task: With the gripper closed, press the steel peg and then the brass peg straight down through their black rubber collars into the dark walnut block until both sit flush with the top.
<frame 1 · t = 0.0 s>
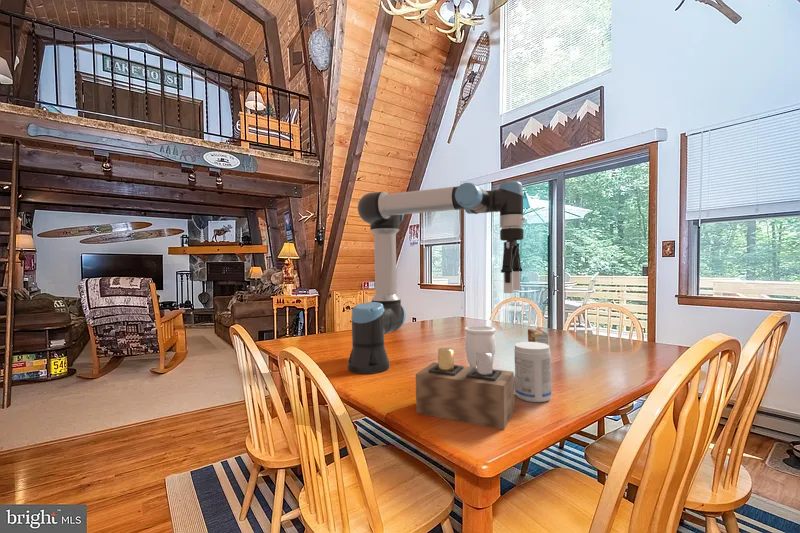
hand: (512, 291, 126), 28 cm above the table, tool pointing down, fingers open, 13 cm apart
walnut block: (465, 411, 95), on the table
candy box: (538, 377, 123), on the table
supplement tub: (533, 397, 105), on the table
jar: (480, 371, 131), on the table
brass peg: (446, 368, 97), point 10 cm above the table, slide at 0.0 cm
steel peg: (484, 373, 93), point 10 cm above the table, slide at 0.0 cm
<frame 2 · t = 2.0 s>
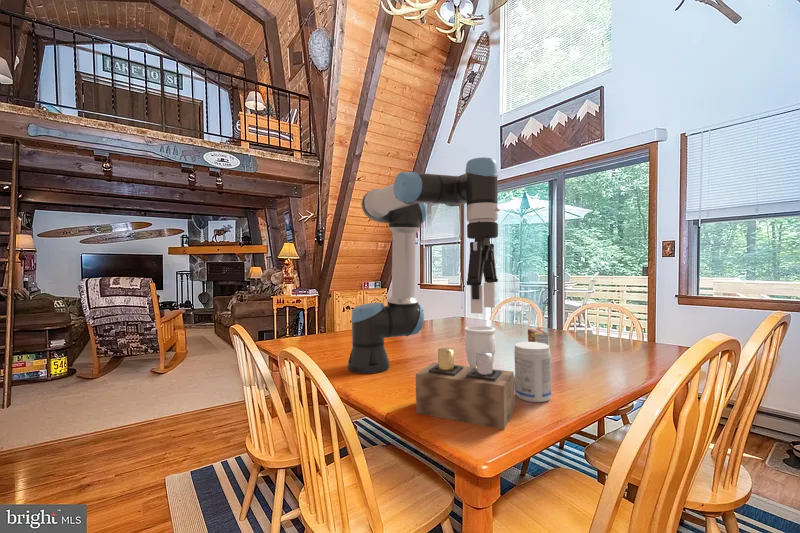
hand: (483, 310, 93), 26 cm above the table, tool pointing down, fingers open, 11 cm apart
nothing on the table moved.
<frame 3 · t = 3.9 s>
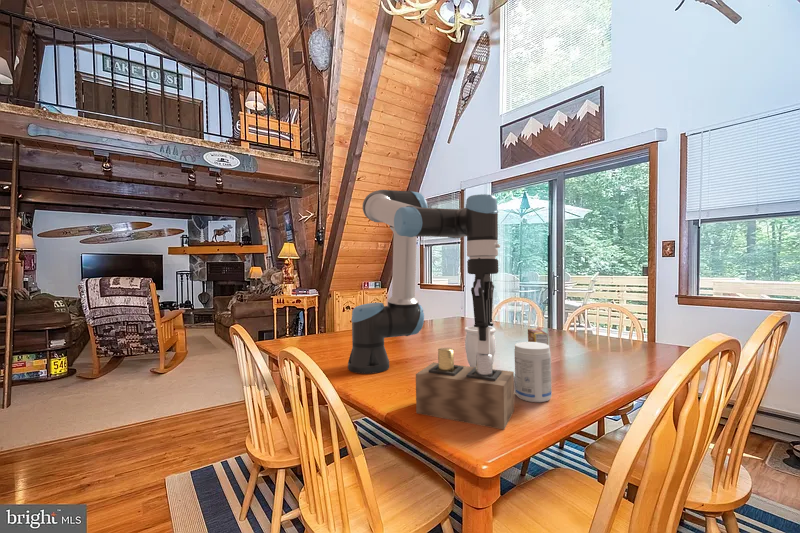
hand: (484, 352, 93), 16 cm above the table, tool pointing down, fingers closed
steel peg: (484, 373, 93), point 10 cm above the table, slide at 0.2 cm, touching gripper
everything else where it was.
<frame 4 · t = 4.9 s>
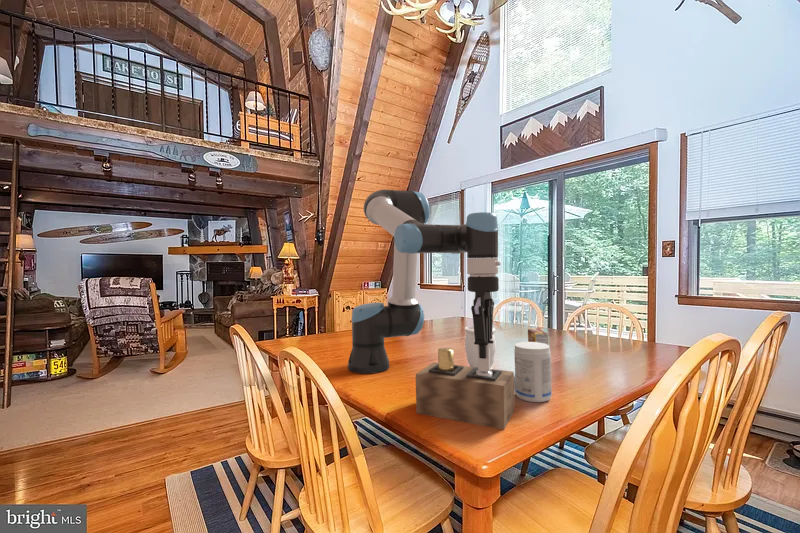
hand: (484, 370, 93), 11 cm above the table, tool pointing down, fingers closed
steel peg: (484, 391, 93), point 6 cm above the table, slide at 4.5 cm, touching gripper
everything else where it was.
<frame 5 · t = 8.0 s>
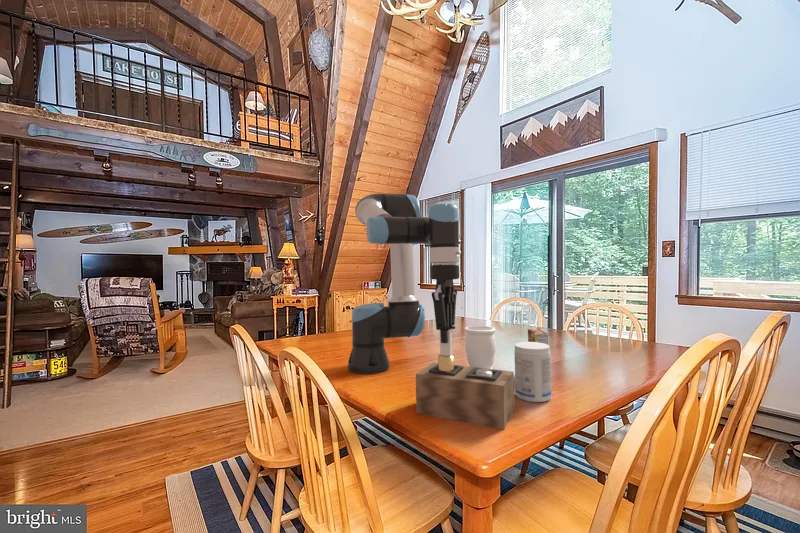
hand: (446, 354, 97), 14 cm above the table, tool pointing down, fingers closed
brass peg: (446, 374, 97), point 9 cm above the table, slide at 1.6 cm, touching gripper
steel peg: (484, 391, 93), point 6 cm above the table, slide at 4.5 cm
everything else where it was.
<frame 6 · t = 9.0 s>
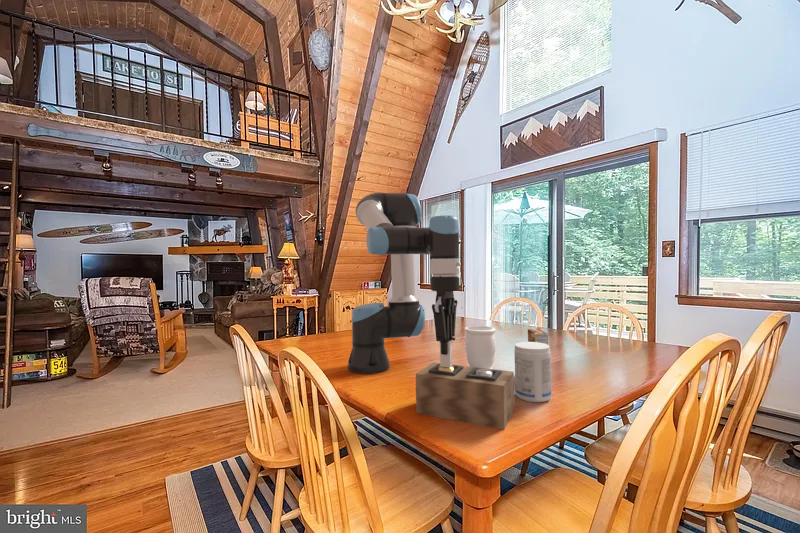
hand: (446, 365, 97), 11 cm above the table, tool pointing down, fingers closed
brass peg: (446, 385, 97), point 6 cm above the table, slide at 4.5 cm, touching gripper
everything else where it was.
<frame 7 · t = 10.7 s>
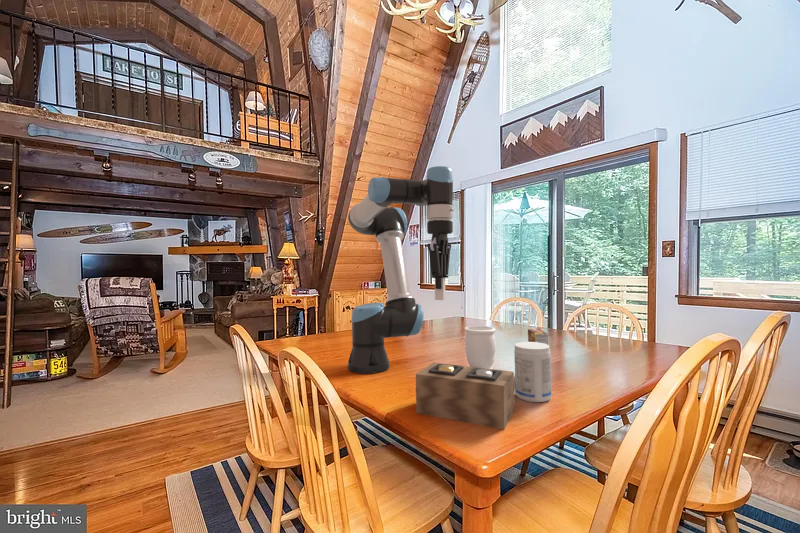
hand: (440, 299, 111), 27 cm above the table, tool pointing down, fingers closed
brass peg: (446, 385, 97), point 6 cm above the table, slide at 4.5 cm
everything else where it was.
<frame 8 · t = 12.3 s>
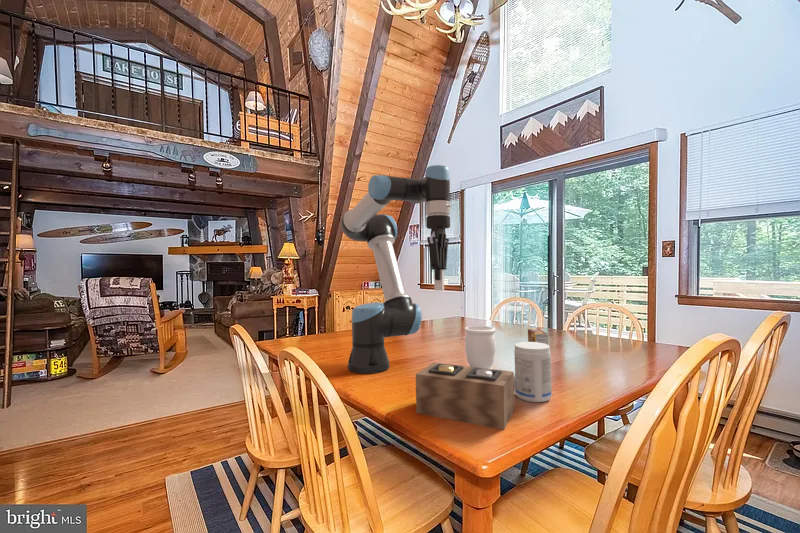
hand: (439, 290, 118), 29 cm above the table, tool pointing down, fingers closed
nothing on the table moved.
at the end: steel peg slide at 4.5 cm; brass peg slide at 4.5 cm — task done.
